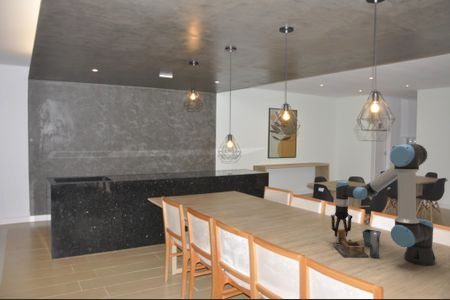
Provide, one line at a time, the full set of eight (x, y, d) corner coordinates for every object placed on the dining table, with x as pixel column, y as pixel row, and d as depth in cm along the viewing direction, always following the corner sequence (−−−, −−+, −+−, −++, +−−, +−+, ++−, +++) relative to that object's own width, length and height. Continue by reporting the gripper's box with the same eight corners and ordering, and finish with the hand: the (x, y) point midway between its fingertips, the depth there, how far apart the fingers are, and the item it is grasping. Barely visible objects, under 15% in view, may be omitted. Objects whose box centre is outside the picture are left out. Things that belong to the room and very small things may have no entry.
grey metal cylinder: (376, 255, 196) (377, 231, 195) (380, 258, 191) (381, 233, 190) (368, 255, 196) (368, 231, 195) (371, 258, 191) (372, 233, 190)
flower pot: (366, 242, 220) (366, 228, 219) (380, 245, 214) (381, 231, 214) (361, 245, 213) (362, 231, 212) (376, 248, 207) (377, 234, 207)
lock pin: (343, 242, 218) (343, 228, 218) (355, 253, 198) (356, 238, 197) (336, 242, 218) (337, 228, 218) (348, 252, 198) (349, 238, 197)
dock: (355, 246, 210) (355, 237, 210) (368, 257, 191) (369, 247, 191) (333, 246, 210) (333, 237, 210) (344, 257, 191) (344, 247, 191)
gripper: (352, 204, 220) (351, 239, 221) (326, 203, 220) (325, 239, 221) (357, 206, 212) (356, 243, 213) (330, 206, 212) (329, 243, 213)
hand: (340, 241), depth 217 cm, fingers closed on lock pin, 4 cm apart
